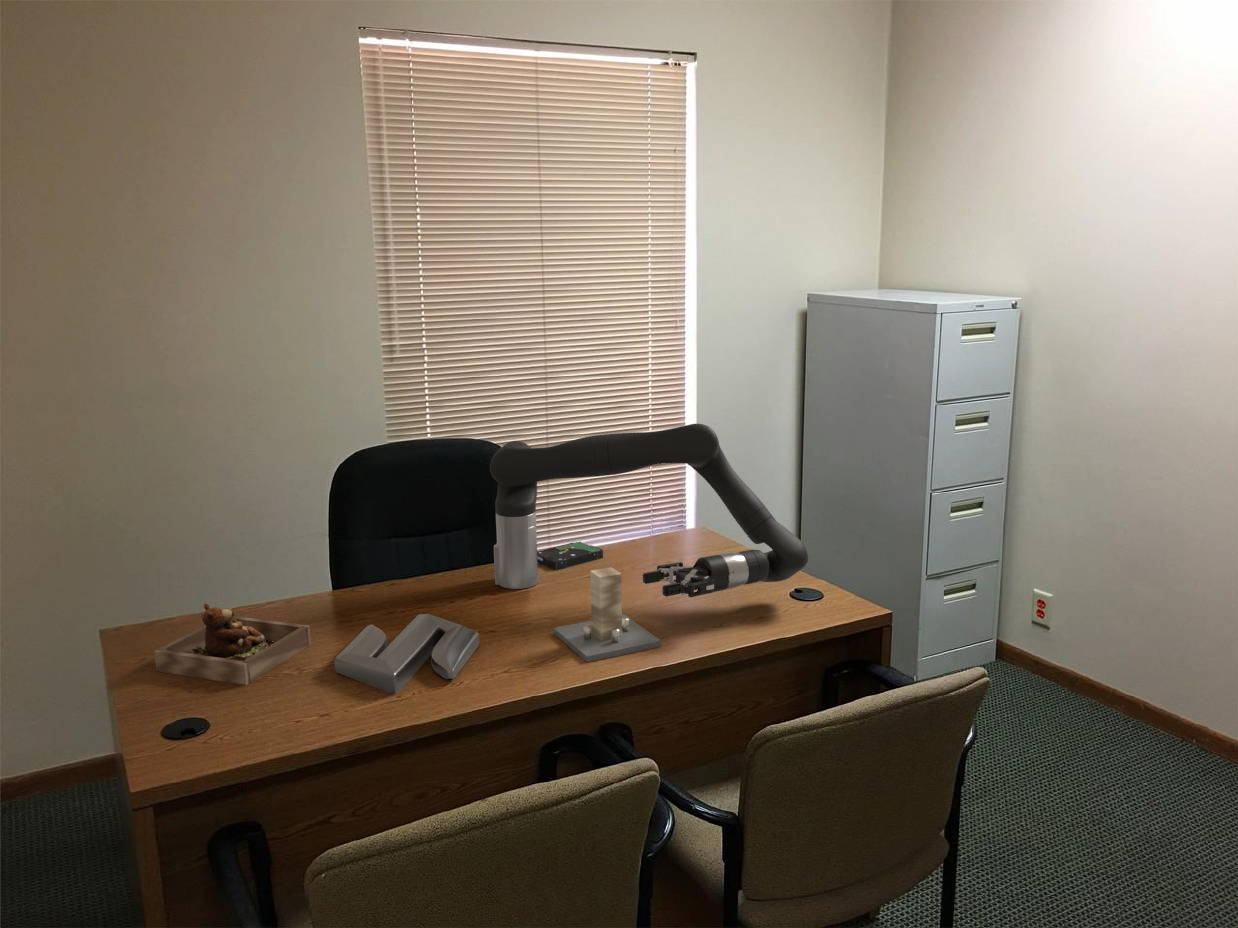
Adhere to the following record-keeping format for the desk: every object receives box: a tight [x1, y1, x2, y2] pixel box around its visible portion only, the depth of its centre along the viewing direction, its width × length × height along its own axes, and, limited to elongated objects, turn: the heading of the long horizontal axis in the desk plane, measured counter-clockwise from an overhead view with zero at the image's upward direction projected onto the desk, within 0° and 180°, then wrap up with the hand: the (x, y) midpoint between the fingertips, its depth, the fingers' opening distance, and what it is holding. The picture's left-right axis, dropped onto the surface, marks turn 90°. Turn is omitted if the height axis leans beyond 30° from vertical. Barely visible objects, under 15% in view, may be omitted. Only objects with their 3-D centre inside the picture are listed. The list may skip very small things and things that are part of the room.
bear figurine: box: [192, 603, 269, 661], centre depth 192 cm, size 14×15×12 cm
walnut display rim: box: [153, 615, 312, 686], centre depth 193 cm, size 20×19×4 cm
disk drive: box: [537, 541, 604, 571], centre depth 249 cm, size 10×3×15 cm
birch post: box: [589, 566, 623, 640], centre depth 197 cm, size 5×5×13 cm
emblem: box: [334, 613, 480, 695], centre depth 190 cm, size 28×5×28 cm
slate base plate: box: [553, 613, 662, 663], centre depth 199 cm, size 16×16×4 cm
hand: (653, 584), depth 201 cm, fingers open, 8 cm apart
